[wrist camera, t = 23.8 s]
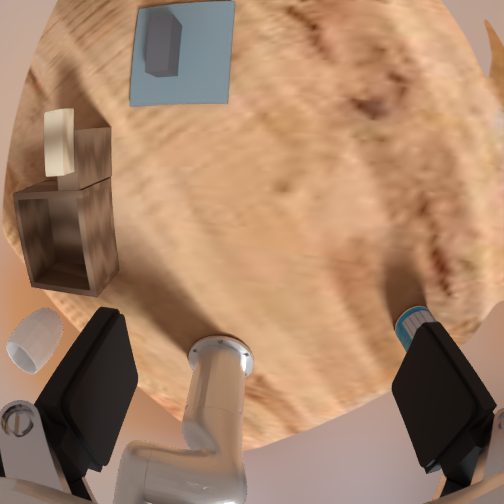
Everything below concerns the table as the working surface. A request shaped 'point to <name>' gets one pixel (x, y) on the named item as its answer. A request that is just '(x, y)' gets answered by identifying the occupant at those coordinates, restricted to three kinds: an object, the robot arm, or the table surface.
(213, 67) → the grey piece
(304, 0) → the table surface
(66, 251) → the brown wooden open box
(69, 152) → the cream rectangular block
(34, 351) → the cup
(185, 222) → the table surface
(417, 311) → the beverage bottle
